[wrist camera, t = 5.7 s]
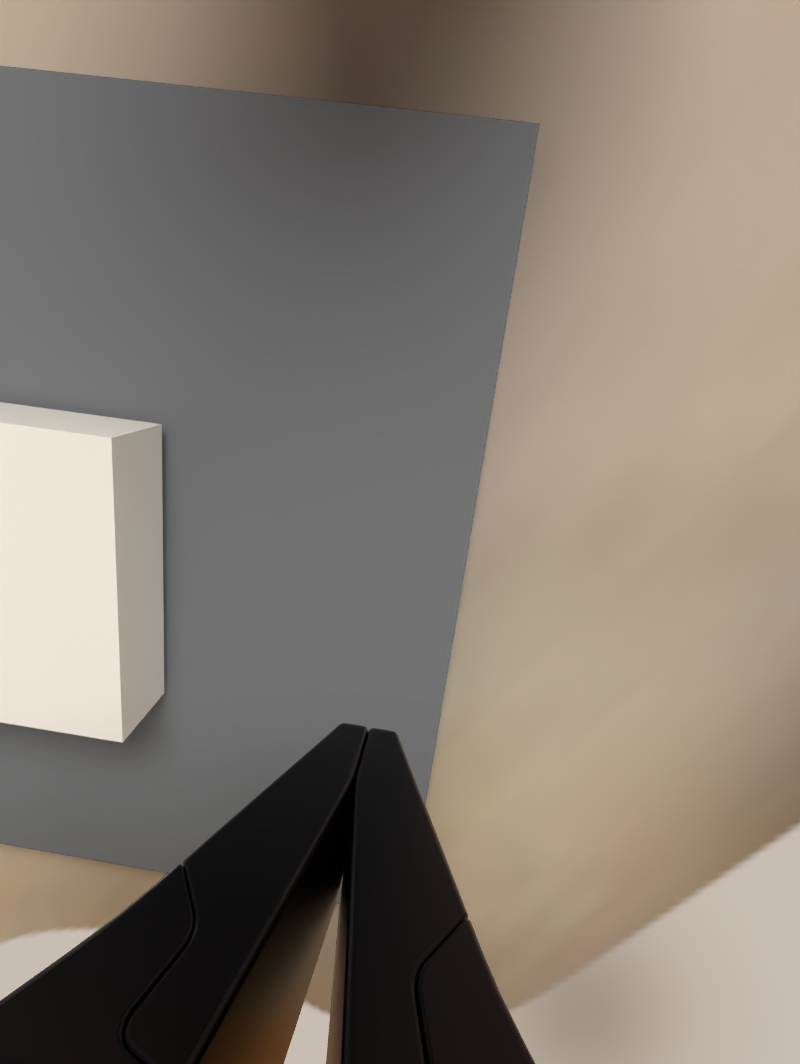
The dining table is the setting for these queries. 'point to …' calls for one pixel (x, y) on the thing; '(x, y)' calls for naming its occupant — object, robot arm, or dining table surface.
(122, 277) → the mat
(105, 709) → the tile
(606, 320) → the dining table surface
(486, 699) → the dining table surface
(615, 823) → the dining table surface
